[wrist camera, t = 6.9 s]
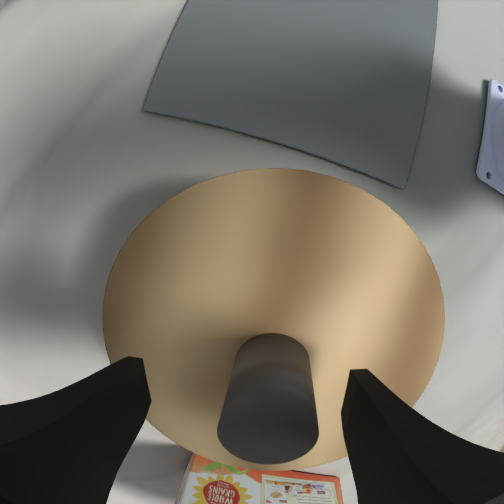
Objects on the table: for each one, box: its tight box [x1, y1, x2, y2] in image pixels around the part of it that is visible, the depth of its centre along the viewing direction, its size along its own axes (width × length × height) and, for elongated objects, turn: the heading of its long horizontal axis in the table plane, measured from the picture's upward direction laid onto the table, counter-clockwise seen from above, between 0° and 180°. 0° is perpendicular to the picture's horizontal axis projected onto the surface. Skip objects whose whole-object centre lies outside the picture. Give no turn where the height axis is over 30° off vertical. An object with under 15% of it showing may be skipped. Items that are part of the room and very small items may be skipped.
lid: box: [103, 168, 445, 471], centre depth 10 cm, size 15×15×5 cm
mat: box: [143, 0, 438, 189], centre depth 14 cm, size 16×16×1 cm
